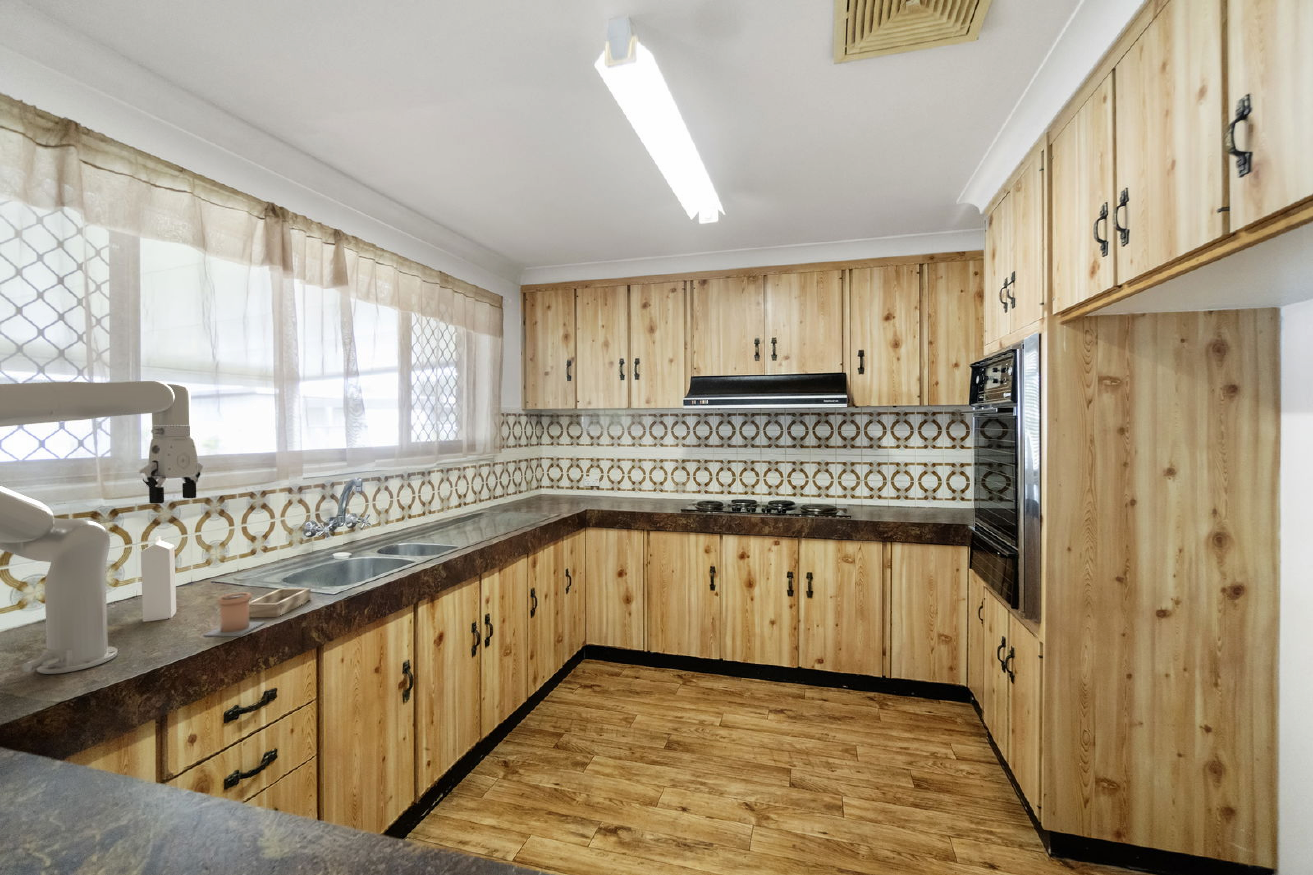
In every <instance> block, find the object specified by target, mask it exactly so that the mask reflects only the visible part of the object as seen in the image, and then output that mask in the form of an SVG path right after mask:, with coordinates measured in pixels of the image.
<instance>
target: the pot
mask: <svg viewBox="0 0 1313 875" xmlns="http://www.w3.org/2000/svg"><path fill="white" fill-rule="evenodd" d="M216 598H217V599H216V602H217V605H219V624H220V625H219V627H220V631H221V632H225V633H228V632H236V631H240V630H244V629H246V628H248V627H249V622H250V617H249V602H250V600H251V599H252V593H251V592H249V591H248V592H246V591H243V592H241V591H240V592H233V593H228V594H224V595H221V596H219V597H216Z"/></svg>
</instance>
